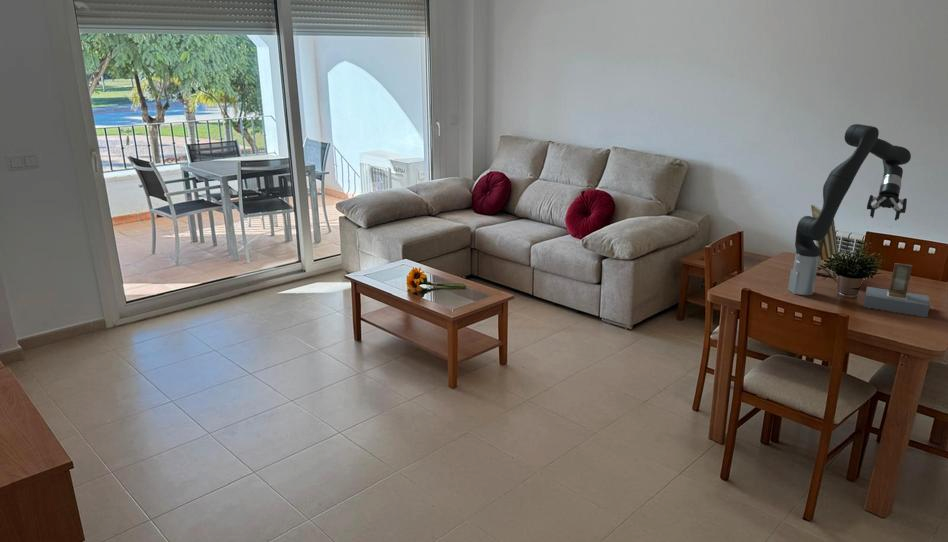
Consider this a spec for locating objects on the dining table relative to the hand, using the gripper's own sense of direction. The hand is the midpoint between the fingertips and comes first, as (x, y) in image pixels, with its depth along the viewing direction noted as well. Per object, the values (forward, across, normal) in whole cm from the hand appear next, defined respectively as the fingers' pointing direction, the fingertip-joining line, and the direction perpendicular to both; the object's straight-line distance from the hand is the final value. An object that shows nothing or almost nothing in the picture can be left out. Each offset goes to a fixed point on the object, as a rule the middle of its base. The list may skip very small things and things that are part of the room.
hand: (884, 218), depth 286 cm
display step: (+35, +10, +12) cm, 38 cm away
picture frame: (+11, -21, +36) cm, 43 cm away
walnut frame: (+31, +10, +8) cm, 34 cm away
